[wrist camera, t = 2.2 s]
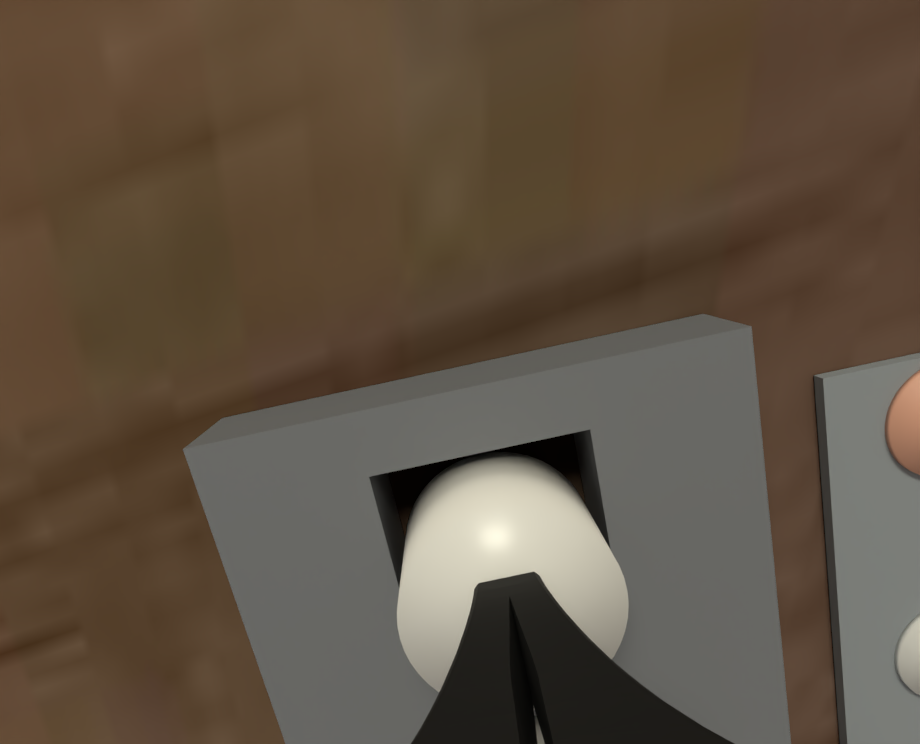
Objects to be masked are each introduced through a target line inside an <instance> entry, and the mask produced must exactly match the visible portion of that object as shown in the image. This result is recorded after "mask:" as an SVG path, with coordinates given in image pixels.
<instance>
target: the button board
mask: <svg viewBox="0 0 920 744" xmlns="http://www.w3.org/2000/svg"><path fill="white" fill-rule="evenodd" d="M571 433H573V435H574V440H575V446H576V452H577V457H578V463H579V469H580V474H581V480H582V486H583V491H584V497H585V503H586V507H587V509H588V511H589V512H590V514H591V516H592V518H593V519H594V521H595V523H596V525H597V527H598V528H599V530H600V532H601V534H602V536H603V537H604V539H605V541H606V543H607V545H608V546H609V548H610V550H611V552H612V554H613V555H614V557H615V559H616V561H617V562H618V564H619V566H620V569H621V571H622V574H623V576H624V579H625V583H626V587H627V591H628V602H629V609H628V620H627V625H626V630H625V633H624V636H623V639H622V641H621V644H620V646H619V648H618V650H617V652H616V654H615V656H614V657H613V658H612V660H613V661H614V662H615V663H616V664H617V665H618V666H620V667H621V668H622V669H623V670H624V671H625V672H627V673H628V674H629V675H630V676H632V677H633V678H634V679H635V680H637V681H638V682H639V683H640V684H642V685H643V686H644V687H646V688H647V689H648V690H650V691H651V692H652V693H654V694H655V695H656V696H658V697H659V698H660V699H662V700H663V701H665V702H666V703H668V704H669V705H671V706H672V707H674V708H675V709H677V710H679V711H680V712H682V713H683V714H685V715H686V716H688V717H689V718H691V719H693V720H694V721H696V722H697V723H699V724H700V725H702V726H704V727H705V728H707V729H709V730H711V731H712V732H714V733H716V734H718V735H720V736H721V737H723V738H725V739H727V740H729V741H731V742H732V743H734V744H791V737H790V727H789V716H788V706H787V695H786V685H785V674H784V664H783V653H782V643H781V632H780V622H779V611H778V601H777V590H776V580H775V569H774V558H773V548H772V537H771V527H770V516H769V506H768V495H767V485H766V474H765V464H764V453H763V443H762V432H761V422H760V411H759V401H758V390H757V380H756V369H755V359H754V348H753V338H752V327H751V326H748V325H744V324H740V323H737V322H733V321H729V320H725V319H721V318H717V317H713V316H710V315H706V314H700V315H696V316H691V317H686V318H682V319H677V320H673V321H668V322H663V323H659V324H654V325H650V326H645V327H640V328H636V329H631V330H626V331H622V332H617V333H613V334H608V335H603V336H599V337H594V338H590V339H585V340H580V341H576V342H571V343H566V344H562V345H557V346H553V347H548V348H543V349H539V350H534V351H530V352H525V353H520V354H516V355H511V356H507V357H502V358H497V359H493V360H488V361H483V362H479V363H474V364H470V365H465V366H460V367H456V368H451V369H447V370H442V371H437V372H433V373H428V374H423V375H419V376H414V377H410V378H405V379H400V380H396V381H391V382H387V383H382V384H377V385H373V386H368V387H363V388H359V389H354V390H350V391H345V392H340V393H336V394H331V395H327V396H322V397H317V398H313V399H308V400H303V401H299V402H294V403H290V404H285V405H280V406H276V407H271V408H267V409H262V410H257V411H253V412H248V413H243V414H239V415H234V416H230V417H225V418H222V419H221V420H219V421H218V422H217V423H216V424H214V425H213V426H212V427H210V428H209V429H208V430H207V431H205V432H204V433H203V434H202V435H200V436H199V437H198V438H197V439H195V440H194V441H193V442H191V443H190V444H189V445H188V446H186V447H185V448H184V449H183V451H184V454H185V457H186V459H187V462H188V465H189V468H190V471H191V474H192V477H193V480H194V482H195V485H196V488H197V491H198V494H199V497H200V500H201V502H202V505H203V508H204V511H205V514H206V517H207V520H208V523H209V525H210V528H211V531H212V534H213V537H214V540H215V543H216V546H217V548H218V551H219V554H220V557H221V560H222V563H223V566H224V568H225V571H226V574H227V577H228V580H229V583H230V586H231V589H232V591H233V594H234V597H235V600H236V603H237V606H238V609H239V612H240V614H241V617H242V620H243V623H244V626H245V629H246V632H247V634H248V637H249V640H250V643H251V646H252V649H253V652H254V655H255V657H256V660H257V663H258V666H259V669H260V672H261V675H262V678H263V680H264V683H265V686H266V689H267V692H268V695H269V698H270V700H271V703H272V706H273V709H274V712H275V715H276V718H277V721H278V723H279V726H280V729H281V732H282V735H283V738H284V741H285V744H411V743H412V741H413V739H414V738H415V736H416V735H417V733H418V731H419V730H420V728H421V726H422V724H423V723H424V721H425V719H426V717H427V715H428V714H429V712H430V710H431V708H432V706H433V704H434V702H435V700H436V698H437V696H438V694H439V692H438V691H436V690H435V689H434V688H433V687H431V686H430V685H429V684H428V683H427V682H426V681H425V680H424V679H423V678H422V677H421V676H420V675H419V674H418V673H417V671H416V670H415V669H414V667H413V666H412V664H411V663H410V661H409V659H408V657H407V655H406V654H405V652H404V649H403V646H402V643H401V641H400V637H399V632H398V627H397V605H398V596H399V588H400V580H401V571H402V563H403V555H404V546H405V536H404V533H403V529H402V525H401V521H400V517H399V514H398V510H397V506H396V502H395V498H394V494H393V491H392V487H391V483H390V479H389V475H388V473H389V472H394V471H398V470H403V469H408V468H412V467H417V466H422V465H426V464H431V463H436V462H440V461H445V460H450V459H454V458H459V457H464V456H468V455H473V454H478V453H482V452H487V451H492V450H496V449H501V448H506V447H510V446H515V445H520V444H524V443H529V442H534V441H538V440H543V439H548V438H552V437H557V436H562V435H566V434H571ZM534 716H536V713H535V710H534Z"/></svg>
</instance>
